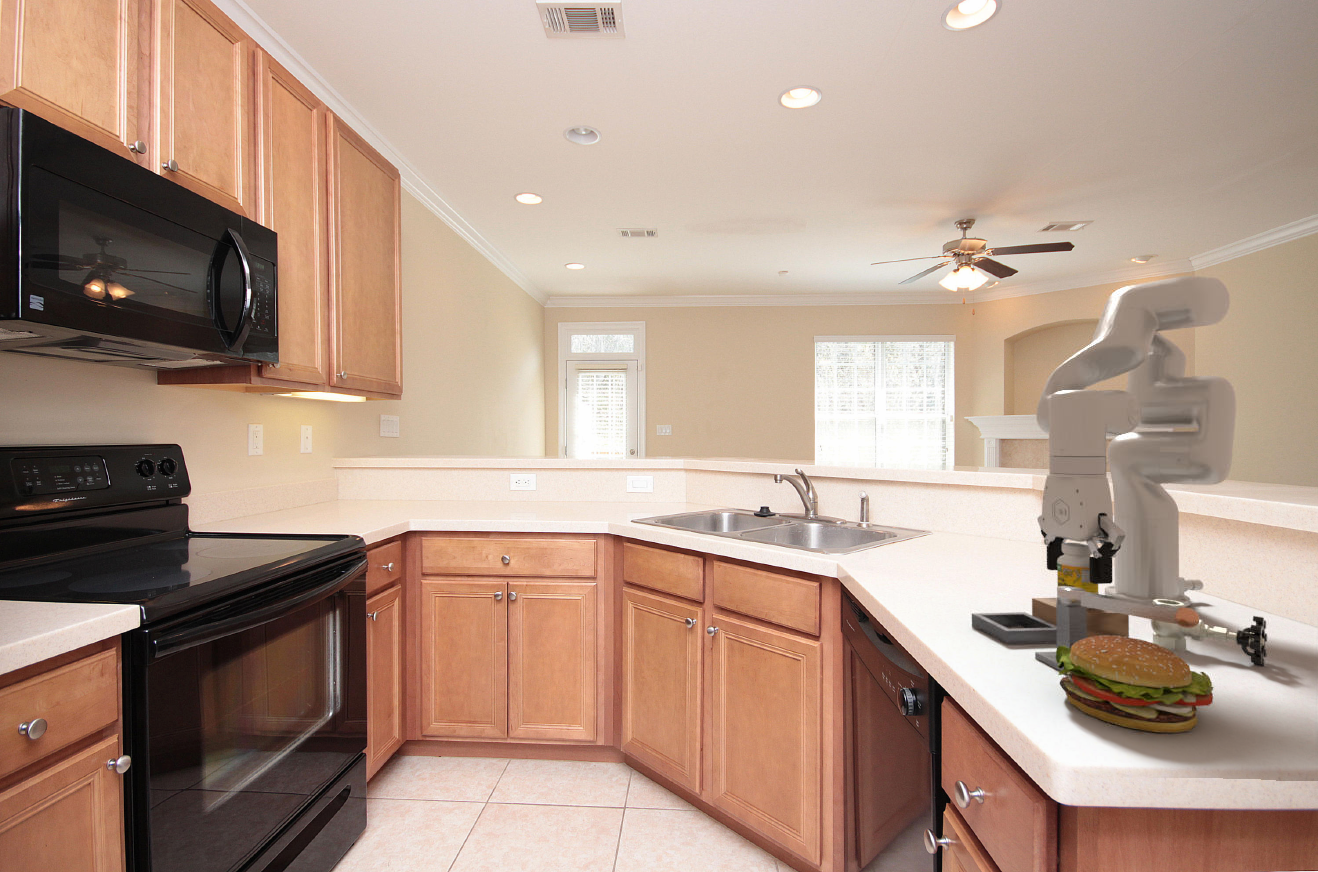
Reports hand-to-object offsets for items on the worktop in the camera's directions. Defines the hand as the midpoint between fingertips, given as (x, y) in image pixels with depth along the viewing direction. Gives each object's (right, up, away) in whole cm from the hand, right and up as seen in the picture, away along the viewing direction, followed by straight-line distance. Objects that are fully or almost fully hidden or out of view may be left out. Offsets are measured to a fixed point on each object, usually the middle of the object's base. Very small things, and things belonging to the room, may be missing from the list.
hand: (1078, 575), depth 96 cm
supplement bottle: (0, -5, 0) cm, 5 cm away
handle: (-8, -1, -19) cm, 21 cm away
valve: (+11, -9, -11) cm, 17 cm away
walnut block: (0, -9, 0) cm, 9 cm away
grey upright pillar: (-11, -9, -15) cm, 20 cm away
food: (-13, -9, -28) cm, 32 cm away
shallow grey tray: (-11, -9, -2) cm, 14 cm away
